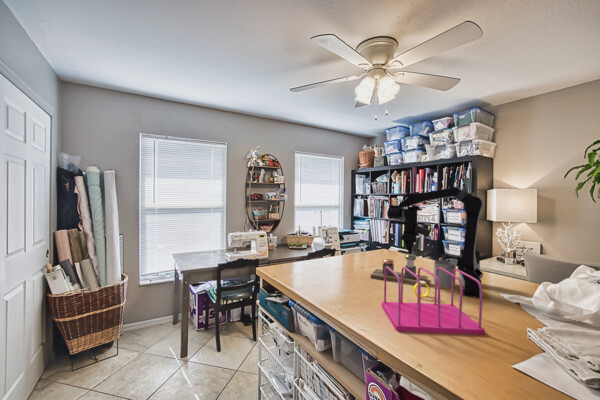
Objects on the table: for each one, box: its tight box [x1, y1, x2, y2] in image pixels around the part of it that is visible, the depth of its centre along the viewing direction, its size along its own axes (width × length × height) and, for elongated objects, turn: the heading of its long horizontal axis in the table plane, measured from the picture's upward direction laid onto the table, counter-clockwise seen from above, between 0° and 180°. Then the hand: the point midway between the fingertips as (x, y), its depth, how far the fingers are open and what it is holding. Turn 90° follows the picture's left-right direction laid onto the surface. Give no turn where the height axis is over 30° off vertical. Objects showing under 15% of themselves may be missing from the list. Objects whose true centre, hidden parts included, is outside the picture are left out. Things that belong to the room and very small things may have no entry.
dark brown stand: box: [370, 262, 428, 288], centre depth 126 cm, size 12×24×6 cm, turn 62°
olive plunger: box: [405, 253, 417, 268], centre depth 124 cm, size 5×5×6 cm
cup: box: [433, 259, 457, 289], centre depth 119 cm, size 8×8×10 cm
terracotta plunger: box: [382, 258, 394, 265], centre depth 129 cm, size 5×5×6 cm
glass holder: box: [457, 248, 481, 286], centre depth 119 cm, size 9×14×15 cm, turn 137°
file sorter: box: [381, 266, 486, 336], centre depth 85 cm, size 17×25×16 cm
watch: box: [413, 281, 431, 298], centre depth 104 cm, size 6×3×6 cm, turn 94°
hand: (410, 253), depth 124 cm, fingers closed
